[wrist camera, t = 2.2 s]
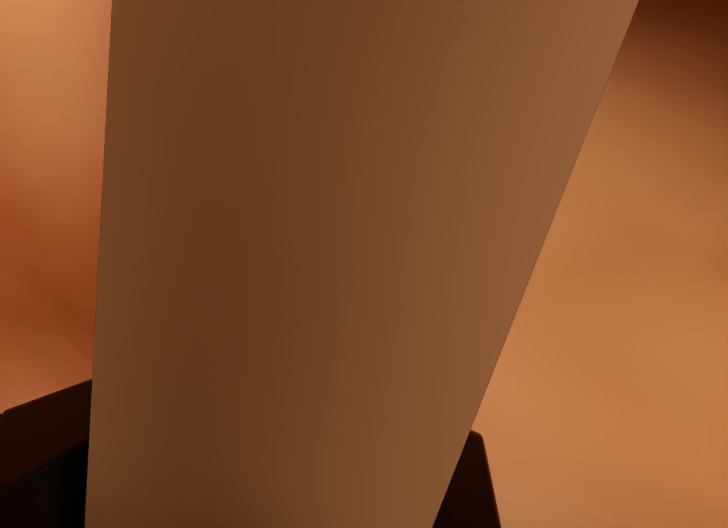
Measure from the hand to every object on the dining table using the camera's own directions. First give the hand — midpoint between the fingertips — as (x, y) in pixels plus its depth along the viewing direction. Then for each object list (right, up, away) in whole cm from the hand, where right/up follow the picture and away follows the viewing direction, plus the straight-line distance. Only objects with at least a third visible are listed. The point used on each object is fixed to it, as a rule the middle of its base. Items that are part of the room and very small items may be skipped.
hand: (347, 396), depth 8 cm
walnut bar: (0, 0, 0) cm, 1 cm away
